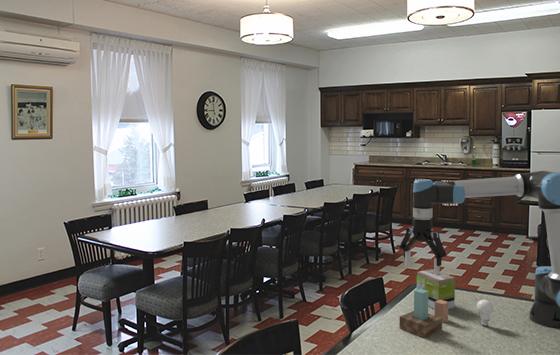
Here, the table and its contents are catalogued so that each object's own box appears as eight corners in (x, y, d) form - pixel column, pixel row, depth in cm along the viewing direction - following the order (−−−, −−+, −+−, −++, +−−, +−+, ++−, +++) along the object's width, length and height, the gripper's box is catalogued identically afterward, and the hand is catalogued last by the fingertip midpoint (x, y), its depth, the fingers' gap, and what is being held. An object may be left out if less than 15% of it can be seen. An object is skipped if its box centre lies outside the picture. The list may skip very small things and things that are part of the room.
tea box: (415, 301, 221) (416, 271, 219) (431, 298, 225) (432, 268, 224) (438, 311, 207) (439, 279, 206) (455, 308, 211) (455, 276, 210)
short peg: (448, 320, 198) (448, 301, 197) (442, 322, 195) (443, 304, 194) (439, 317, 201) (440, 299, 200) (434, 319, 198) (434, 301, 198)
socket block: (442, 329, 188) (442, 317, 187) (424, 338, 180) (425, 325, 180) (416, 320, 197) (416, 309, 197) (399, 328, 190) (399, 316, 189)
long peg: (427, 329, 188) (428, 291, 187) (422, 332, 186) (422, 293, 184) (419, 326, 191) (419, 288, 190) (413, 328, 189) (414, 290, 188)
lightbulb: (483, 329, 187) (483, 303, 186) (472, 323, 194) (473, 298, 193) (496, 327, 189) (497, 301, 188) (485, 321, 195) (486, 296, 194)
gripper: (391, 215, 192) (390, 265, 194) (445, 223, 173) (444, 278, 175) (402, 213, 197) (401, 262, 199) (456, 221, 177) (455, 275, 179)
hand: (421, 270), depth 187 cm, fingers open, 13 cm apart
